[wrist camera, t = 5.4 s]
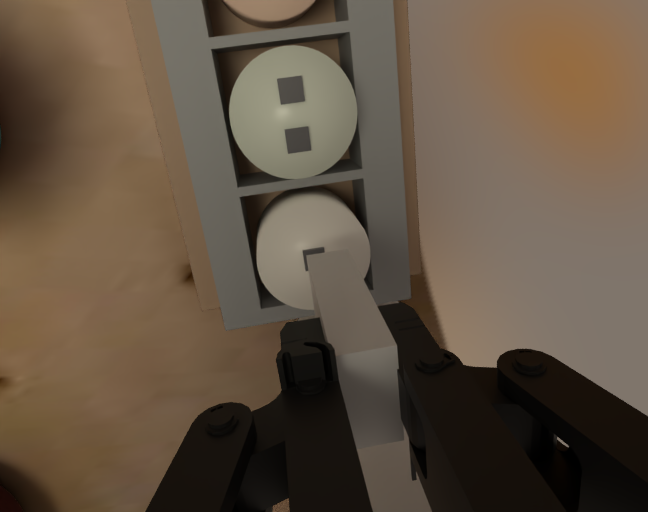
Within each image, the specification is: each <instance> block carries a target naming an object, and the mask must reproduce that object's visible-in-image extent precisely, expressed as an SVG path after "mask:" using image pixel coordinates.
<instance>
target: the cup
mask: <svg viewBox="0 0 648 512" xmlns="http://www.w3.org/2000/svg"><path fill="white" fill-rule="evenodd" d="M394 303H399V302H398V301H394V302H388V303H383V304H377V306H382V305H388V304H394ZM312 318H315V315H314V316H308V317H302V318H299V319H298V321H300V320H306V319H312ZM403 429H404V440H403V441H398V442H393V443H387V444H382V445H377V446H371V447H366V448H361V449H357V452H358V456H359V460H360V464H361V468H362V471H363V475H364V479H365V483H366V487H367V491H368V495H369V498H370V502H371V506H372V510H373V512H432V510H431V508H430V505H429V503H428V500H427V498H426V495H425V492H424V490H423V487H422V485H421V482H420V480H419V477H418V475H417V472H416V477H417V480H414V481H412V476H411V464H410V450H409V437H408V435H407V432H406V430H405V427H404V425H403Z"/></svg>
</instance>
